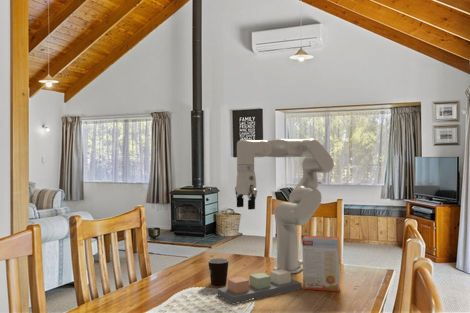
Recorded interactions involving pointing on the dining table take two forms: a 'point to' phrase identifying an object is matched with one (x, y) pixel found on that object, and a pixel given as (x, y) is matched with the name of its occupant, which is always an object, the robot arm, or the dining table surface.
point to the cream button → (280, 276)
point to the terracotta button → (238, 285)
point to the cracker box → (321, 263)
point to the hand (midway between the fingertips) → (245, 208)
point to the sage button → (260, 280)
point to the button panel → (258, 291)
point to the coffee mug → (218, 271)
